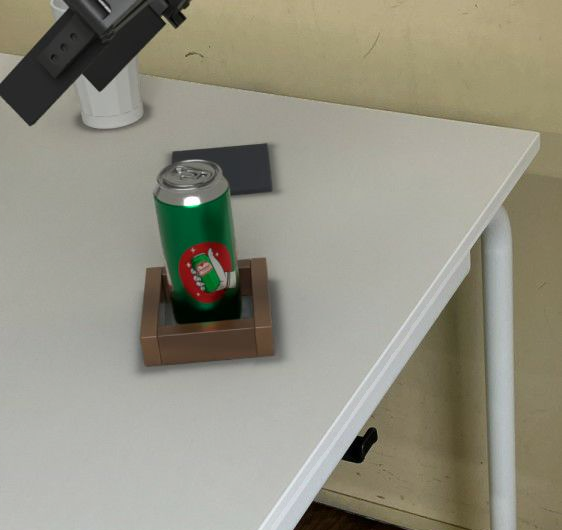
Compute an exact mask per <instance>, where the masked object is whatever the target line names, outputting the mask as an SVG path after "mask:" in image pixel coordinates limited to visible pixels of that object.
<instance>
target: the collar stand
mask: <svg viewBox="0 0 562 530" xmlns="http://www.w3.org/2000/svg"><path fill="white" fill-rule="evenodd" d="M267 263H268V261H267V257H265V256H264V257H255V258H253V257H252V258H242V259H241V258H240V259H238V267H239V276H240V285H241V294H242V296H252V309H253V310H252V312H253V313H252V314H253V317H249V318H243V319H236V320H225V321H214V322H202V323H191V324H180V325H175V324H171V325H166V324H165V323H166V307H167V303H171V300H170V294H169V287H168V281H167V275H166V269H165V265H163V266H151V267H145V278H144V288H143V298H142V309H141V318H140V319H141V320H140V330H139V331H140V332H139V341H140V347H141V352H142V359H143V363H144V367H154V366H167V365H179V364H180V365H181V364H191V363H202V362H212V361H214V362H215V361H224V360H237V359H247V358H257V357H267V356H275V355H276V353H275V344H274V343H275V342H274V330H273V321H272V309H271V308H272V307H271V297H270V284H269V273H268V264H267Z"/></svg>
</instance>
